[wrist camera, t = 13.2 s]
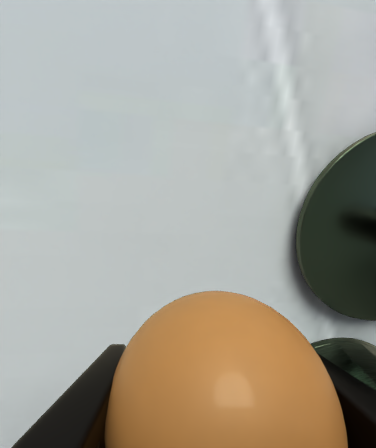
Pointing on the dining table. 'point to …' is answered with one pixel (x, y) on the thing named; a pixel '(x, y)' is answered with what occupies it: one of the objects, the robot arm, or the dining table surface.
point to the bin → (350, 357)
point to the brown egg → (222, 381)
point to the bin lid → (342, 232)
